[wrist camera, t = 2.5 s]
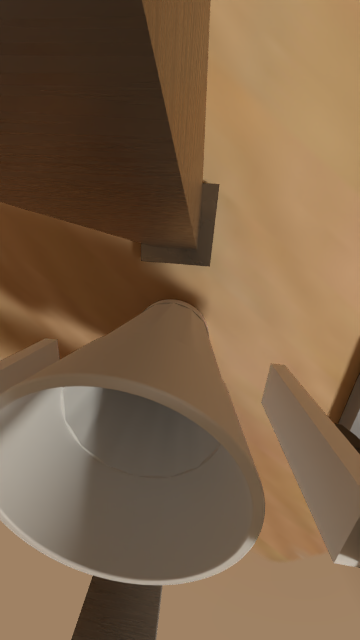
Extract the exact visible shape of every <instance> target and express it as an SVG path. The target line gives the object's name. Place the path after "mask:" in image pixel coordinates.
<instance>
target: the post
mask: <svg viewBox="0 0 360 640" xmlns="http://www.w3.org/2000/svg"><path fill="white" fill-rule="evenodd" d="M209 21H210V0H0V202H2V203H6V204H9V205H12V206H16V207H19V208H23V209H26V210H30V211H33V212H36V213H40V214H43V215H47V216H50V217H53V218H57V219H60V220H64V221H67V222H70V223H74V224H77V225H81V226H84V227H88V228H91V229H94V230H98V231H101V232H105V233H108V234H111V235H115V236H118V237H122V238H125V239H129V240H132V241H135V242H139V243H141V261H149V262H162V263H174V264H187V265H199V266H210V259H211V251H212V242H213V234H214V225H215V217H216V209H217V200H218V192H219V184H206V183H203V161H204V138H205V114H206V91H207V68H208V44H209Z"/></svg>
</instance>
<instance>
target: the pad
mask: <svg viewBox="0 0 360 640" xmlns="http://www.w3.org/2000/svg"><path fill="white" fill-rule="evenodd" d="M338 424H341V425H343V426H344V427H345V428H347V429H348V430H349V431H351V432H352V433H353V434H355V435H356V436H357V437H358V438H359V439H360V374H359V376H358V379H357V381H356V383H355V386H354V388H353V390H352V393H351V395H350V397H349V400H348V402H347V404H346V407H345V409H344V412H343V414H342V416H341V419H340V421H339V423H338Z"/></svg>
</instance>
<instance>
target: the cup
mask: <svg viewBox="0 0 360 640" xmlns="http://www.w3.org/2000/svg"><path fill="white" fill-rule="evenodd" d="M264 515H265V499H264V492H263V488H262V484H261V481H260V478H259V475H258V472H257V470H256V467H255V464H254V461H253V459H252V456H251V453H250V450H249V448H248V445H247V442H246V439H245V436H244V434H243V431H242V428H241V425H240V423H239V420H238V417H237V414H236V412H235V409H234V406H233V403H232V401H231V398H230V395H229V392H228V390H227V387H226V385H225V383H224V381H223V380H222V377H221V374H220V371H219V368H218V365H217V362H216V359H215V355H214V352H213V349H212V346H211V343H210V340H209V333H208V327H207V324H206V321H205V319H204V318H203V316H202V315H201V313H200V312H199V311H198V310H197V309H196V308H195V307H193V306H192V305H190V304H188V303H186V302H183V301H180V300H175V299H167V300H161V301H158V302H155V303H153V304H152V305H150V306H149V307H148V308H146V309H145V310H144V311H143V312H142V313H141V314H139V315H138V316H136V317H135V318H133V319H131V320H130V321H128V322H127V323H125V324H123V325H122V326H120V327H119V328H117V329H115V330H114V331H112V332H110V333H109V334H107V335H106V336H103V337H100V338H98V339H96V340H94V341H92V342H90V343H88V344H87V345H85V346H83V347H81V348H80V349H78V350H76V351H74V352H72V353H71V354H69V355H67V356H65V357H64V358H62V359H60V360H58V361H57V362H55V363H53V364H51V365H50V366H48V367H46V368H44V369H43V370H41V371H39V372H37V373H36V374H34V375H32V376H30V377H29V378H27V379H25V380H23V381H21V382H20V383H18V384H16V385H14V386H13V387H11V388H9V389H7V390H6V391H4V392H3V393H1V394H0V520H1V521H2V522H3V523H4V524H5V525H6V526H7V527H8V528H9V529H10V530H11V531H12V532H14V533H15V534H16V535H17V536H18V537H20V538H21V539H22V540H24V541H25V542H26V543H28V544H29V545H30V546H32V547H33V548H35V549H37V550H38V551H40V552H41V553H43V554H45V555H47V556H48V557H50V558H52V559H54V560H56V561H58V562H60V563H62V564H64V565H66V566H69V567H71V568H74V569H76V570H79V571H82V572H84V573H87V574H90V575H94V576H97V577H101V578H104V579H109V580H113V581H118V582H124V583H131V584H140V585H171V584H172V585H173V584H182V583H188V582H193V581H197V580H201V579H204V578H207V577H210V576H213V575H215V574H217V573H220V572H222V571H224V570H226V569H227V568H229V567H231V566H232V565H234V564H235V563H236V562H238V561H239V560H240V559H241V558H242V557H243V556H244V555H246V554H247V552H248V551H249V550H250V549H251V548H252V546H253V545H254V543H255V542H256V540H257V538H258V536H259V534H260V532H261V529H262V525H263V522H264Z"/></svg>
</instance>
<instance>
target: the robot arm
mask: <svg viewBox="0 0 360 640" xmlns="http://www.w3.org/2000/svg"><path fill="white" fill-rule="evenodd" d="M58 360H60V357H59V349H58V341H57V339H48V338H45V339H43V340H41V341H39V342H37V343H35V344H33V345H31V346H29V347H27V348H25V349H23V350H21V351H19V352H17V353H15V354H13V355H11V356H9V357H7V358H5V359H3V360H1V361H0V394H1V393H3V392H4V391H6V390H7V389H9V388H11V387H13V386H14V385H16V384H18V383H20V382H21V381H23V380H25V379H27V378H29V377H30V376H32V375H34V374H36V373H37V372H39V371H41V370H43V369H44V368H46V367H48V366H50V365H51V364H53V363H55V362H57V361H58ZM261 403H262V405H263V407H264V409H265V412H266V414H267V416H268V418H269V420H270V423H271V425H272V427H273V429H274V432H275V434H276V436H277V438H278V440H279V443H280V445H281V447H282V449H283V451H284V454H285V456H286V458H287V460H288V463H289V465H290V467H291V469H292V471H293V474H294V476H295V478H296V480H297V483H298V485H299V487H300V489H301V491H302V494H303V496H304V498H305V500H306V503H307V505H308V507H309V509H310V511H311V514H312V516H313V518H314V520H315V523H316V525H317V527H318V529H319V531H320V534H321V536H322V538H323V540H324V542H325V545H326V547H327V549H328V551H329V554H330V556H331V558H332V560H333V562H334V563H336V564H342V565H347V566H354V567H359V568H360V439H359V438H358V437H357V436H356V435H355V434H353V433H352V432H351V431H349V430H348V429H347V428H345V427H344V426H343V425H341V424H334V423H333V422H332V421H331V420H330V418H329V417H328V416H327V415H326V414H325V412H324V411H323V410H322V409H321V408H320V407H319V405H318V404H317V403H316V402H315V401H314V399H313V398H312V397H311V396H310V395H309V393H308V392H307V391H306V390H305V389H304V388H303V386H302V385H301V384H300V383H299V382H298V380H297V379H296V378H295V377H294V376H293V374H292V373H291V372H290V371H289V370H288V369H287V367H286V366H285V365H280V364H271V365H270V369H269V374H268V378H267V382H266V386H265V390H264V394H263V398H262V402H261Z"/></svg>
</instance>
